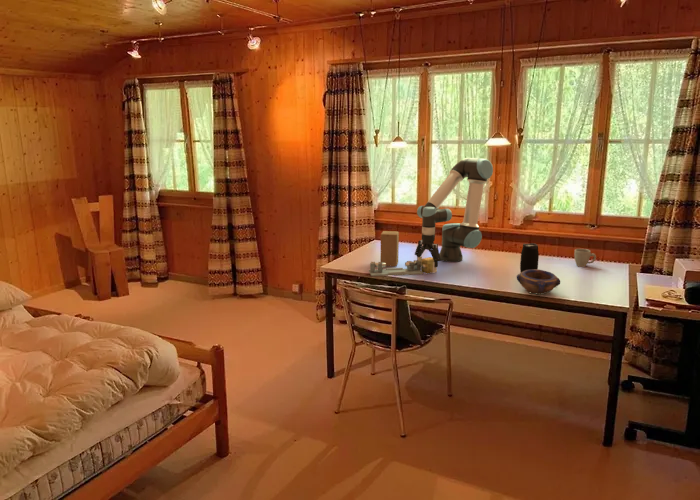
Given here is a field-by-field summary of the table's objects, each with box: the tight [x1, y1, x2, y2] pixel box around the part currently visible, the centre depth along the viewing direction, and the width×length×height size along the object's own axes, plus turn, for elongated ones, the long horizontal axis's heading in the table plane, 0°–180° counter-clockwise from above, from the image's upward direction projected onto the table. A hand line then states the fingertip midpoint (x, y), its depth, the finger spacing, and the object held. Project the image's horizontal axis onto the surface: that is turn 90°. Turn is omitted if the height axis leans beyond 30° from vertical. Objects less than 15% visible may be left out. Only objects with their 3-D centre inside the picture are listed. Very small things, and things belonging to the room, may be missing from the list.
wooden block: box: [379, 230, 400, 267], centre depth 321 cm, size 10×10×20 cm
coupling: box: [421, 256, 434, 275], centre depth 305 cm, size 9×5×8 cm, turn 125°
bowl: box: [516, 269, 561, 295], centre depth 266 cm, size 18×18×10 cm
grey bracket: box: [369, 261, 387, 273], centre depth 303 cm, size 9×4×6 cm, turn 81°
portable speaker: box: [519, 242, 540, 273], centre depth 288 cm, size 9×9×20 cm
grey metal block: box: [404, 259, 421, 272], centre depth 305 cm, size 9×4×6 cm, turn 111°
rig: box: [368, 267, 424, 277], centre depth 304 cm, size 30×10×2 cm, turn 96°
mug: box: [574, 248, 597, 268], centre depth 315 cm, size 12×9×10 cm
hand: (426, 269), depth 306 cm, fingers open, 12 cm apart
